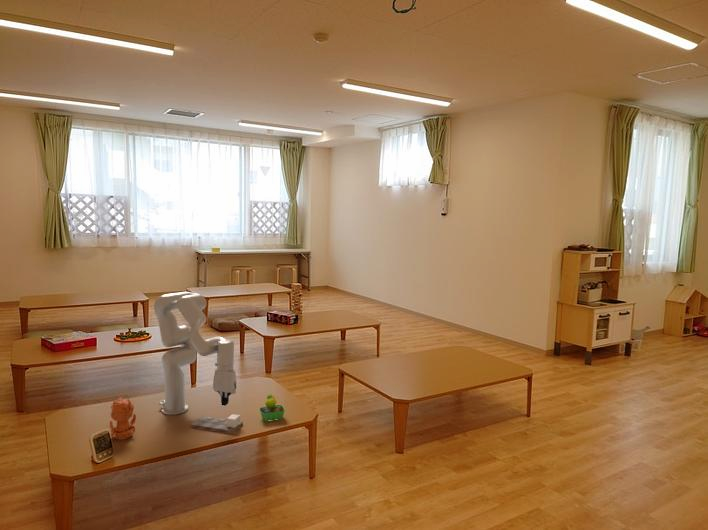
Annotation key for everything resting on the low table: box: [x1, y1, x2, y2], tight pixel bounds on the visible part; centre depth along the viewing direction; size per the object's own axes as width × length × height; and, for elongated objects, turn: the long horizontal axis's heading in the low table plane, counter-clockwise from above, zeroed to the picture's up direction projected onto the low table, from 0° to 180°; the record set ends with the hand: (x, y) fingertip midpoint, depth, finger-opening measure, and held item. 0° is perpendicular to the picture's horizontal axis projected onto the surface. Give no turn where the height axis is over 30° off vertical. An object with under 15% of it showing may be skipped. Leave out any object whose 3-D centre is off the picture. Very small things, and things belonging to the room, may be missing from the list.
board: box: [189, 415, 244, 435], centre depth 224 cm, size 22×10×2 cm, turn 75°
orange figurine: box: [109, 396, 137, 441], centre depth 211 cm, size 11×11×18 cm
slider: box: [226, 413, 241, 428], centre depth 222 cm, size 4×5×4 cm
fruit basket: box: [258, 394, 286, 422], centre depth 234 cm, size 11×9×11 cm
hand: (224, 404), depth 222 cm, fingers closed
